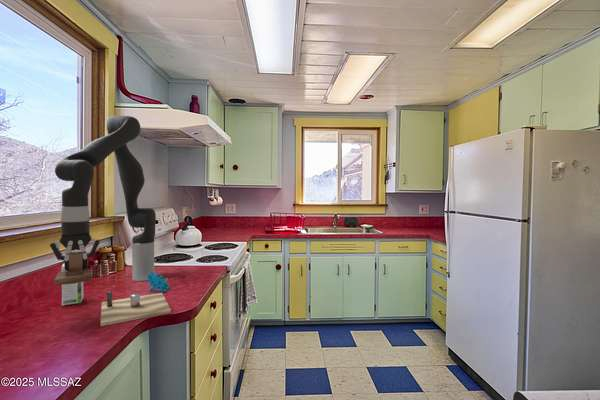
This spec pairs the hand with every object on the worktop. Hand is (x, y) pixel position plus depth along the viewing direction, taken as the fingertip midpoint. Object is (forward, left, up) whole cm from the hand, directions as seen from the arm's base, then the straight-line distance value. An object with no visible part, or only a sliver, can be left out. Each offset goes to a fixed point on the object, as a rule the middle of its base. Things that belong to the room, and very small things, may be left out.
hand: (76, 270), depth 100 cm
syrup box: (-13, -2, -15) cm, 20 cm away
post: (+6, +17, -14) cm, 23 cm away
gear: (-10, +27, -15) cm, 32 cm away
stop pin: (+2, +9, -14) cm, 17 cm away
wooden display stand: (+3, 0, -1) cm, 4 cm away
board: (+6, +17, -14) cm, 23 cm away
